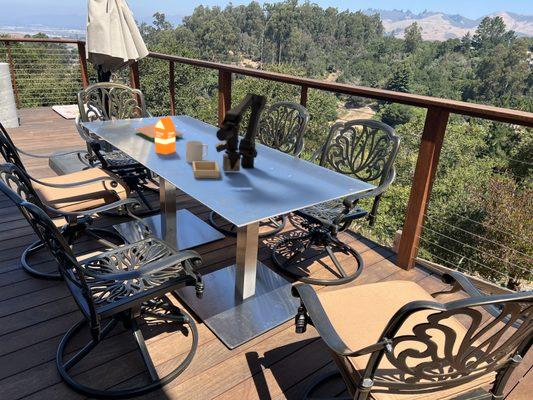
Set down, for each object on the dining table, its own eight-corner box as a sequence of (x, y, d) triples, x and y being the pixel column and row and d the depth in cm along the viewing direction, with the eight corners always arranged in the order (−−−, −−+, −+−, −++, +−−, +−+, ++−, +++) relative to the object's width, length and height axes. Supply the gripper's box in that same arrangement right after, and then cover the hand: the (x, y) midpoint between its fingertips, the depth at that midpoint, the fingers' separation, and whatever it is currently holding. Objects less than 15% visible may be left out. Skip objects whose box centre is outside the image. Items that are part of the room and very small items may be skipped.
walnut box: (237, 168, 201) (238, 154, 198) (239, 171, 197) (240, 157, 194) (222, 168, 199) (223, 154, 196) (223, 171, 195) (224, 157, 192)
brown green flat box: (154, 144, 241) (153, 131, 238) (130, 132, 263) (130, 120, 259) (186, 140, 256) (186, 127, 252) (161, 129, 277) (161, 117, 274)
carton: (215, 168, 206) (216, 160, 204) (219, 181, 189) (220, 172, 187) (192, 168, 203) (192, 160, 201) (194, 181, 186) (194, 172, 184)
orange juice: (155, 151, 224) (153, 117, 217) (165, 148, 232) (164, 115, 224) (165, 154, 221) (164, 119, 214) (175, 151, 229) (175, 117, 221)
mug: (189, 165, 206) (190, 145, 202) (183, 161, 213) (183, 141, 209) (210, 163, 213) (210, 143, 208) (203, 159, 219) (204, 139, 215)
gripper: (214, 132, 198) (213, 161, 204) (218, 142, 181) (217, 173, 187) (235, 132, 200) (234, 161, 206) (241, 142, 184) (240, 173, 190)
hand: (231, 167), depth 197 cm, fingers closed on walnut box, 5 cm apart
